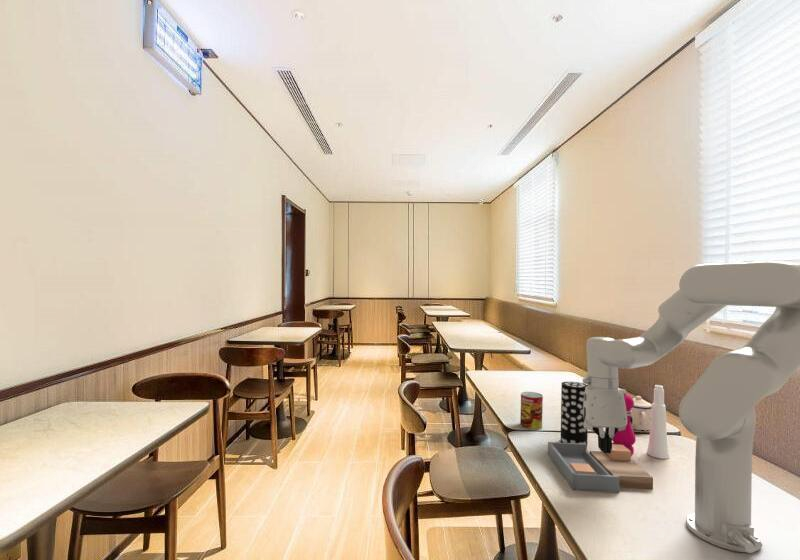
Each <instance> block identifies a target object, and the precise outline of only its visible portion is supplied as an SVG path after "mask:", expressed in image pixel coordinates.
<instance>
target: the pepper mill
mask: <svg viewBox="0 0 800 560" xmlns="http://www.w3.org/2000/svg"><path fill="white" fill-rule="evenodd" d="M621 389H622V391H623V395H624V399H625V405H626V412H627V425H626V426H625V427H626V429H625V430H621V431H618V432H617V433H616V434H615V435H614V437H613V438H612V444H617V445H624V446H625V447H626V448H627V449H629V450H630V451H631V455H634V453H635V452H634V451H635V448H634V446H633V445H634V444H635V443H636V440H637V439H636V434H635V432H634V429H632V427H631V424H630V415H632V410H631V408H633V406H634V401H633V397H632V396H630V395H629V394H627V389H624V388H621Z"/></svg>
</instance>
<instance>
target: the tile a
mask: <svg viewBox="0 0 800 560" xmlns="http://www.w3.org/2000/svg"><path fill="white" fill-rule="evenodd" d="M570 467H571V468H572V469H573V471H574V472H575V473H576V474H595V471H594V470H593V469H592V468H591V466H590V465H589V464H581V463H570Z"/></svg>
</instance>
